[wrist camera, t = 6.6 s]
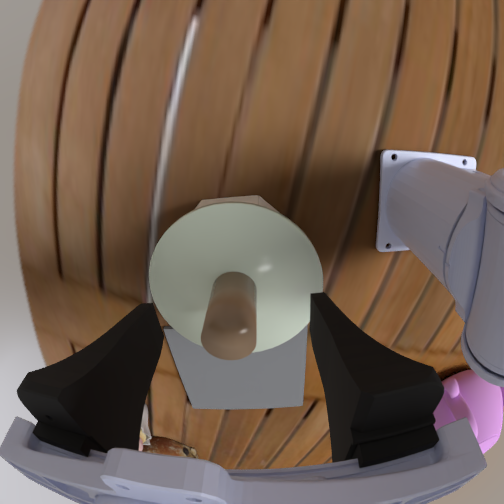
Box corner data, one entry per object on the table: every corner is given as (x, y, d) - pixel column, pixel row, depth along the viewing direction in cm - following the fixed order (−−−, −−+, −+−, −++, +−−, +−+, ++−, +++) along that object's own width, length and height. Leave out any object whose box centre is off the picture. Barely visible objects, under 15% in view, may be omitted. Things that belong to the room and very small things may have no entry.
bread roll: (206, 441, 42) (216, 473, 35) (169, 468, 41) (175, 499, 33) (161, 415, 39) (166, 449, 32) (125, 445, 38) (125, 478, 30)
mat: (306, 320, 25) (307, 323, 25) (302, 402, 31) (302, 405, 30) (164, 326, 26) (163, 329, 25) (193, 405, 31) (193, 408, 31)
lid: (344, 223, 18) (375, 265, 13) (293, 357, 23) (300, 411, 18) (157, 185, 17) (120, 214, 12) (150, 331, 22) (129, 382, 17)
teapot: (503, 383, 33) (532, 436, 21) (404, 443, 39) (422, 504, 26) (513, 308, 25) (568, 376, 13) (377, 395, 31) (406, 489, 18)
